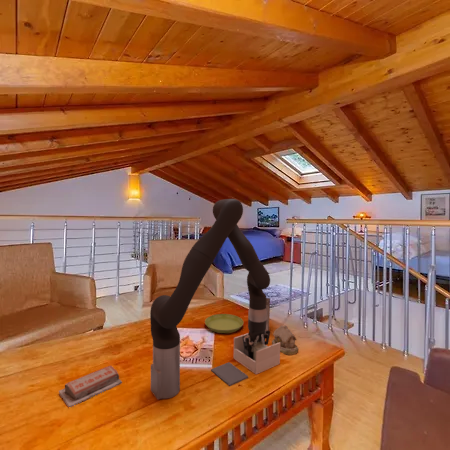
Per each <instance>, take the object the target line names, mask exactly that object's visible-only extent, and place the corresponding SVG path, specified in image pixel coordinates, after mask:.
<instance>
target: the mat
mask: <svg viewBox="0 0 450 450" xmlns="http://www.w3.org/2000/svg"><path fill="white" fill-rule="evenodd" d="M210 371H211V372H212V373H213V374H214V375H215V376H217V378H219V379H220V380H221V381H223V382H224V383H225V385H227V386H228V387H231V386H233V385H236V384H238V383H240V382H242V381H244V380H246V379H247V380H248V379H249V376H248V375H247V374H246V373H245V372H243V371H242V370H240V369H239V368H238V367H237V366H235V365H234V364H233V363H231V362H230V361H228V362H226V363H224V364H221V365H219V366H216V367H214V368H210Z"/></svg>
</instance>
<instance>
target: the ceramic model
mask: <svg viewBox="0 0 450 450" xmlns="http://www.w3.org/2000/svg"><path fill="white" fill-rule="evenodd" d="M273 336H274V338H273V339H272V340H271V345H273V344H276V343H279V342H280V353H282V354H284V355H287V356H291V355H295V354H297V353H298V352H299V347H298V345H296V341H297V337H296V336H295V335H294V333H293V332H292V331H291V329H289V328H288V326H287V325H280V326H279V327H278V328H276V329H275V330H274V332H273Z"/></svg>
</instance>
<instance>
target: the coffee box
mask: <svg viewBox="0 0 450 450" xmlns="http://www.w3.org/2000/svg"><path fill="white" fill-rule="evenodd" d="M270 305H271V298H270V297H266V312H267V317H266V329H267V330H269V331H270V310H271V309H270V307H271V306H270Z"/></svg>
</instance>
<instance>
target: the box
mask: <svg viewBox="0 0 450 450" xmlns="http://www.w3.org/2000/svg"><path fill="white" fill-rule="evenodd" d="M252 343H254V342H252ZM251 347H252V345H251ZM266 347H268V345H264V344H262V343H260V342H257V344H256V346H255V347H254V356H253V360H254V361H255V359H256V351H258V350H261V349H263V348H266ZM244 354H245V355H246V356H248V351H247V350H245V349H244Z"/></svg>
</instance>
